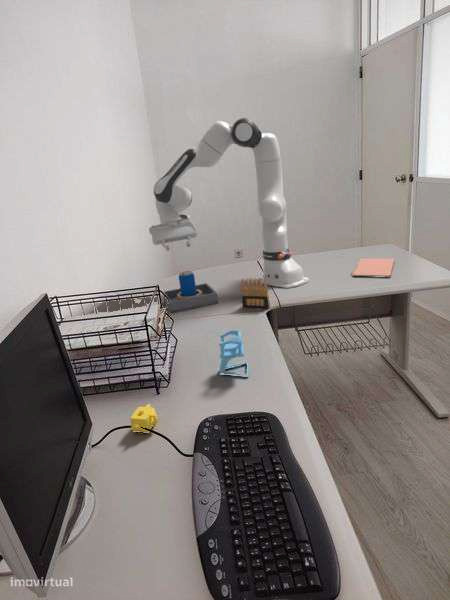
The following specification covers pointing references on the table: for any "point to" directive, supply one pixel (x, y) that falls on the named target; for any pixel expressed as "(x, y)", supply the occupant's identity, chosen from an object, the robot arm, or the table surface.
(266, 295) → the ammunition clip
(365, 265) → the notebook
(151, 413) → the yellow block with hole
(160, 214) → the robot arm
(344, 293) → the table surface
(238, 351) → the chair
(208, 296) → the tray
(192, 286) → the beverage can
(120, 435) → the table surface
